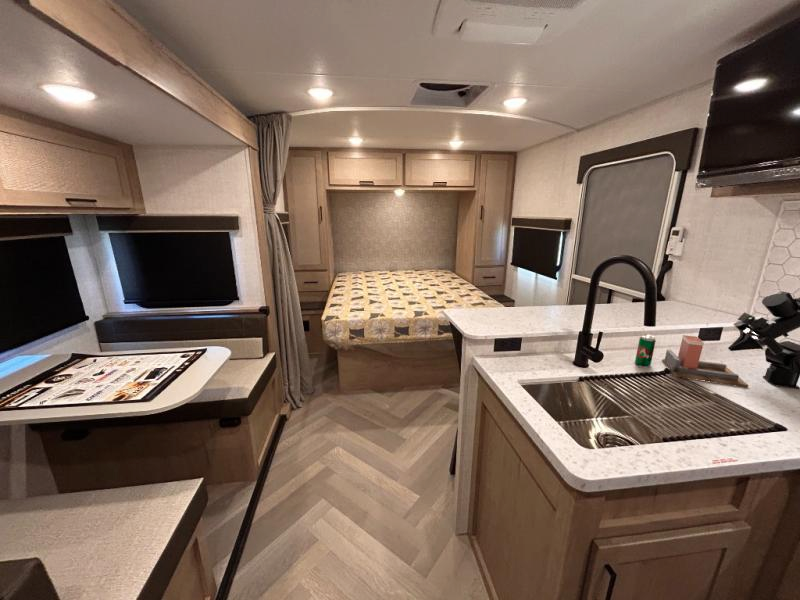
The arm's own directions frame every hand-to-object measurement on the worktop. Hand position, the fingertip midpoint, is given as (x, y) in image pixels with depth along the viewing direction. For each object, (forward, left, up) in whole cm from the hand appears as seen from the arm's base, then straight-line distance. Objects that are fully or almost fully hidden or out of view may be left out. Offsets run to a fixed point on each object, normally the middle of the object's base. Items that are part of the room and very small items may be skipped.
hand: (729, 349), depth 113 cm
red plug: (+11, 0, -9) cm, 14 cm away
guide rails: (+7, 0, -10) cm, 12 cm away
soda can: (+24, -1, -11) cm, 26 cm away
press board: (+6, 0, -11) cm, 12 cm away
